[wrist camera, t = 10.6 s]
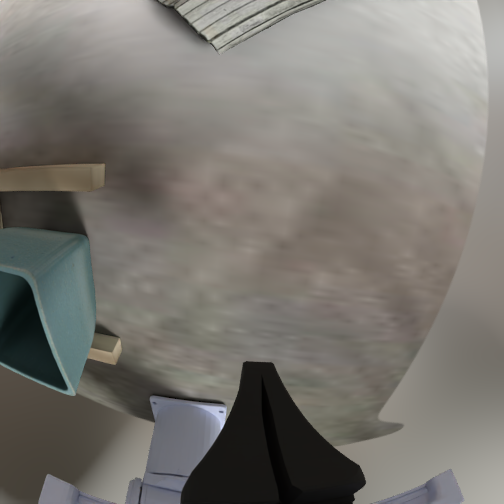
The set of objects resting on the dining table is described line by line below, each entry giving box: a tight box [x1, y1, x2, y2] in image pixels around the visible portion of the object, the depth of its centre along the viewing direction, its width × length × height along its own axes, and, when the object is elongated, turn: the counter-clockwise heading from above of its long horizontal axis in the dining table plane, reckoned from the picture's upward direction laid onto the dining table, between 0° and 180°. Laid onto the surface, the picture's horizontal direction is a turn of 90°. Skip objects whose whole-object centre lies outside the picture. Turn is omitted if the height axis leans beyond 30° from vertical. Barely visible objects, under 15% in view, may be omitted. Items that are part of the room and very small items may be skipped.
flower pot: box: [0, 227, 96, 396], centre depth 14 cm, size 9×9×9 cm
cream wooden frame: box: [0, 164, 122, 365], centre depth 17 cm, size 16×14×2 cm
